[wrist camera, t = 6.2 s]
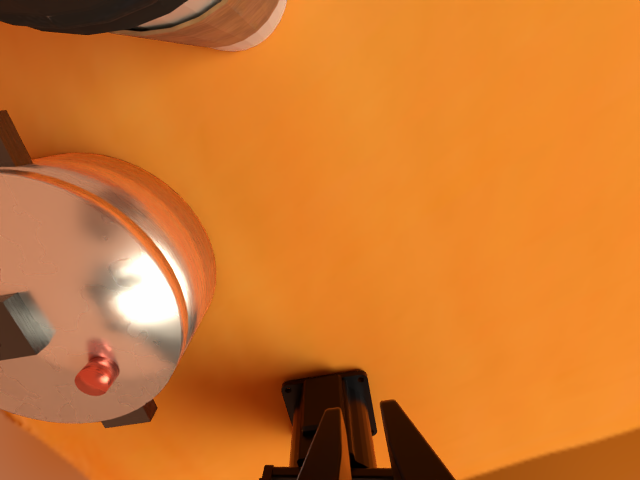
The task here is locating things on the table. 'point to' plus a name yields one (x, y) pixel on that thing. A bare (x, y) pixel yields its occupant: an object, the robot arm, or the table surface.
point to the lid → (81, 305)
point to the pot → (141, 207)
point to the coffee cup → (154, 19)
